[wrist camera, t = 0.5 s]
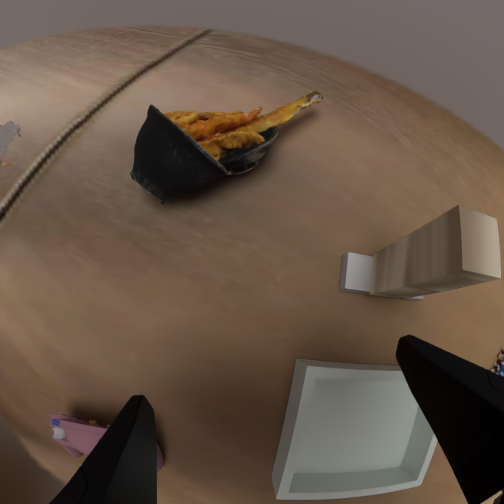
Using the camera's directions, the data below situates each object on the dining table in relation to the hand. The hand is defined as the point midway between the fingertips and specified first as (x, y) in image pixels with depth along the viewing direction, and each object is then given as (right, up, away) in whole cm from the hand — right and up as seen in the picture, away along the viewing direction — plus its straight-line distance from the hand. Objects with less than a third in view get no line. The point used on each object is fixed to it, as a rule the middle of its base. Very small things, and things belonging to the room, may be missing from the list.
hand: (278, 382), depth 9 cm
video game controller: (-13, -12, +12) cm, 22 cm away
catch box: (+8, -11, +12) cm, 19 cm away
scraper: (+11, +2, +15) cm, 19 cm away
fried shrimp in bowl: (-3, +14, +18) cm, 23 cm away
